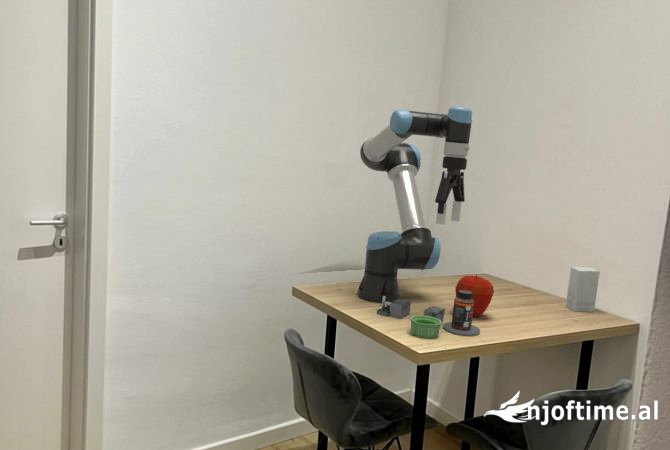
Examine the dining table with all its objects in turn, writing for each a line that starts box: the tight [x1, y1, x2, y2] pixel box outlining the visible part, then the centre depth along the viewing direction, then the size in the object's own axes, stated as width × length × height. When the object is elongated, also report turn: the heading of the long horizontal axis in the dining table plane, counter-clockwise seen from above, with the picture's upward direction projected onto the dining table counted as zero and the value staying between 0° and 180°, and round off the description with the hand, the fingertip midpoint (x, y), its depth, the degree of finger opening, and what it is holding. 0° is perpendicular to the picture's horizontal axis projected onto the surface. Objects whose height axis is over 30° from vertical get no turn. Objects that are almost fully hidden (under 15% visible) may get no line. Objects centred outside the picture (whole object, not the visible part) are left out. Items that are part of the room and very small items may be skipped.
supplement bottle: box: [451, 290, 474, 330], centre depth 179 cm, size 6×6×11 cm
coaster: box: [442, 321, 481, 337], centre depth 180 cm, size 11×11×1 cm
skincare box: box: [565, 266, 601, 313], centre depth 217 cm, size 8×7×16 cm
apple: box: [455, 274, 495, 317], centre depth 197 cm, size 12×12×14 cm
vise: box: [376, 296, 446, 324], centre depth 188 cm, size 20×9×5 cm, turn 59°
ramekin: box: [410, 314, 442, 339], centre depth 173 cm, size 9×9×4 cm
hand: (447, 222), depth 191 cm, fingers open, 13 cm apart
